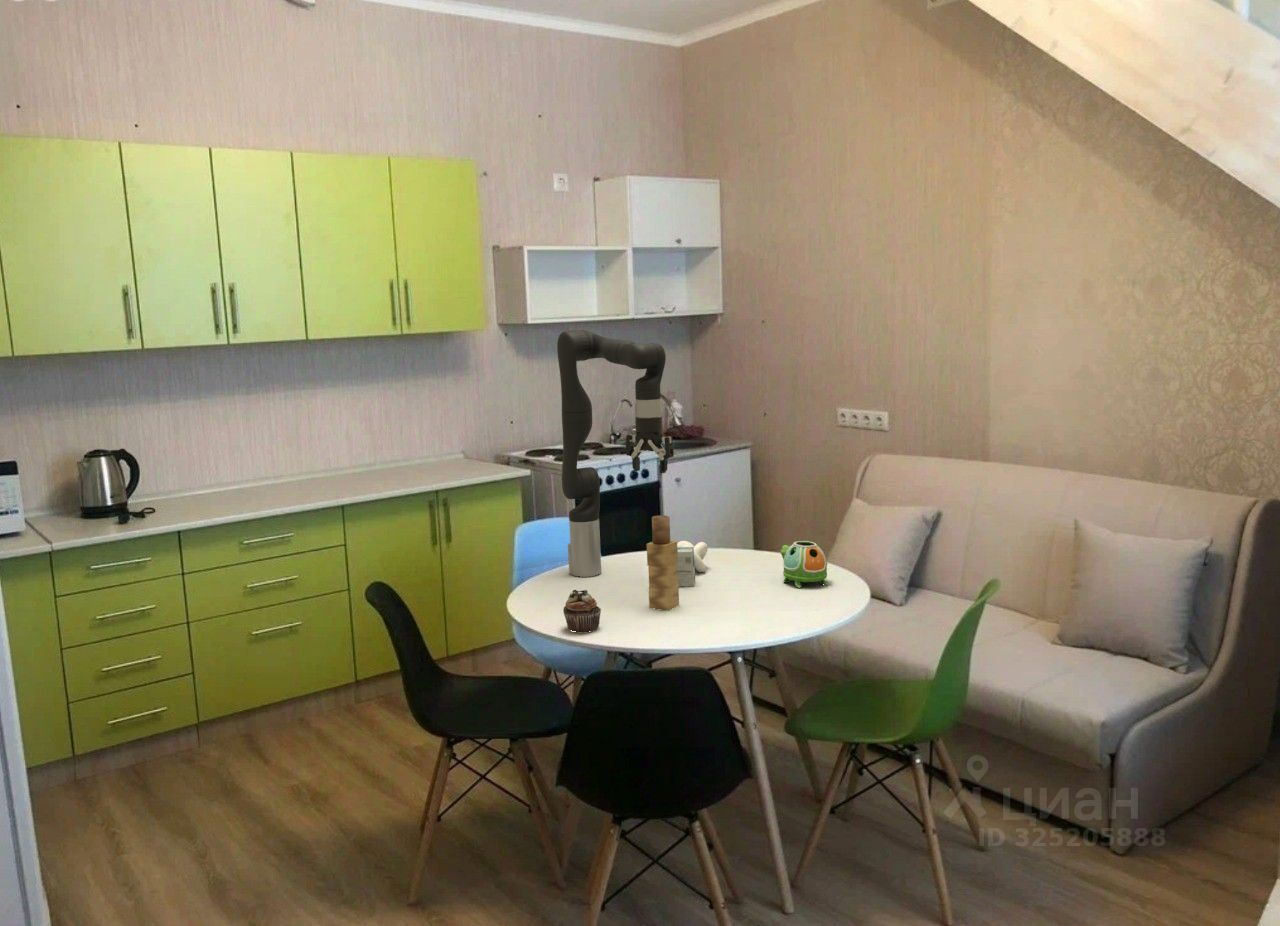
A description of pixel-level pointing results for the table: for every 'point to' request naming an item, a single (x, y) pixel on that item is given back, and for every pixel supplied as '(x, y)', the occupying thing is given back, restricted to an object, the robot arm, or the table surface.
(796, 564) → the turtle holder
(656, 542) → the walnut cylinder
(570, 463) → the robot arm
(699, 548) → the white knot sculpture
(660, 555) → the tower top
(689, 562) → the light bulb box
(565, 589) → the table surface
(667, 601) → the tower base
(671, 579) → the tower mid
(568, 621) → the cupcake
